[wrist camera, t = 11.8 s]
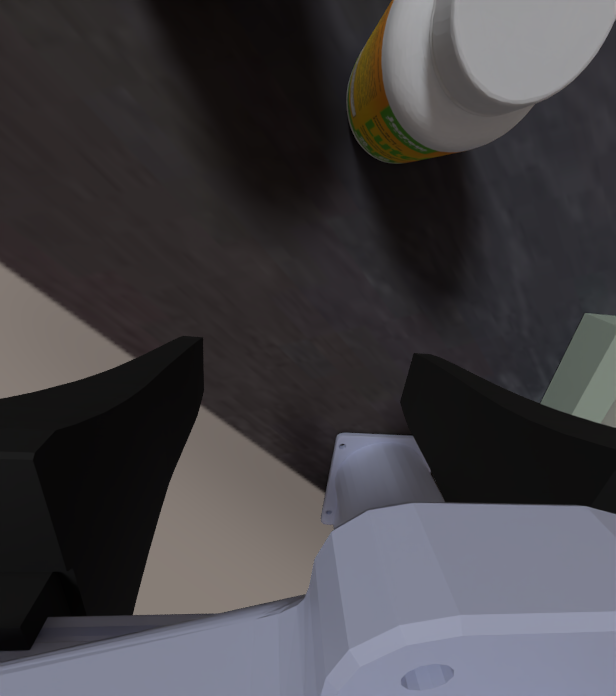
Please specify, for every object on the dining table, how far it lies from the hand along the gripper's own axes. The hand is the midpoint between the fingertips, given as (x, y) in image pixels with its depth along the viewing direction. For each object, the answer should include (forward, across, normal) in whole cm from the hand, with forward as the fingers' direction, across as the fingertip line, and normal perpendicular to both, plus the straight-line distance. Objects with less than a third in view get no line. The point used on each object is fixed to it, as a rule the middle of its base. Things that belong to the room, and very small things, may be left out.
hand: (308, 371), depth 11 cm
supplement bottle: (+10, -4, -10) cm, 14 cm away
